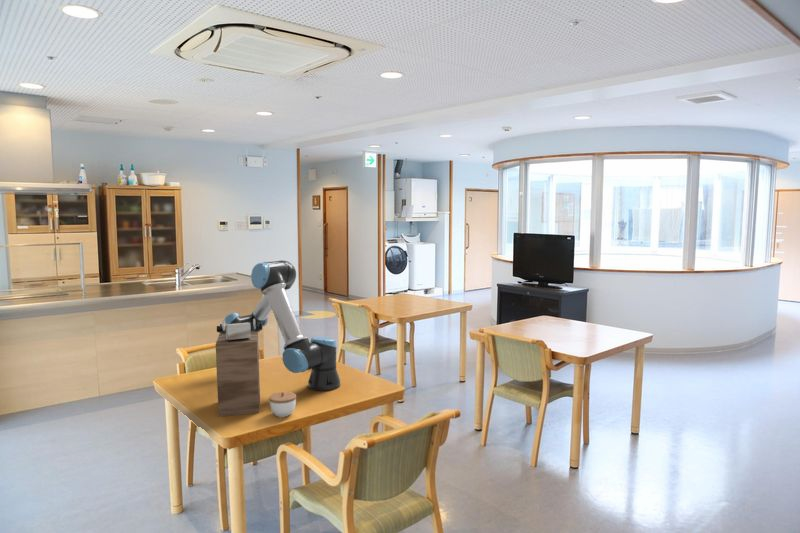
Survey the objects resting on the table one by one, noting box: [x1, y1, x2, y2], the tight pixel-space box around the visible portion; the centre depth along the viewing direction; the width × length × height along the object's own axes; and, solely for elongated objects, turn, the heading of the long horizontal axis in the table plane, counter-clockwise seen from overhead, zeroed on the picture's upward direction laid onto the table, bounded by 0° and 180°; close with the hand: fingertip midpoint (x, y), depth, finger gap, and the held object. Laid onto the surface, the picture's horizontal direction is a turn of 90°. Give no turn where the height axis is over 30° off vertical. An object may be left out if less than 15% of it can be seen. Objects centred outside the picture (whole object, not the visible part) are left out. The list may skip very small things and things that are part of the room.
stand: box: [215, 331, 261, 417], centre depth 230 cm, size 19×16×30 cm
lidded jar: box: [268, 391, 297, 418], centre depth 222 cm, size 11×11×9 cm
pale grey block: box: [225, 322, 251, 340], centre depth 235 cm, size 28×9×6 cm, turn 26°
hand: (238, 322), depth 245 cm, fingers open, 13 cm apart
